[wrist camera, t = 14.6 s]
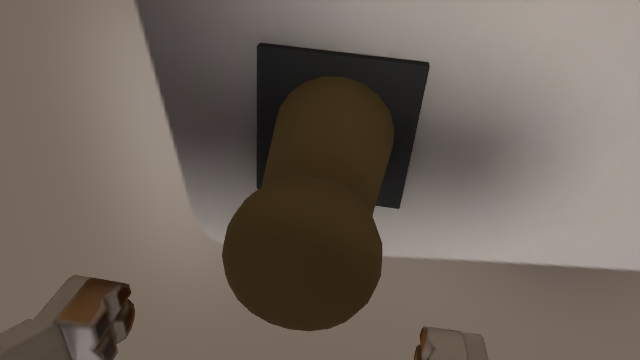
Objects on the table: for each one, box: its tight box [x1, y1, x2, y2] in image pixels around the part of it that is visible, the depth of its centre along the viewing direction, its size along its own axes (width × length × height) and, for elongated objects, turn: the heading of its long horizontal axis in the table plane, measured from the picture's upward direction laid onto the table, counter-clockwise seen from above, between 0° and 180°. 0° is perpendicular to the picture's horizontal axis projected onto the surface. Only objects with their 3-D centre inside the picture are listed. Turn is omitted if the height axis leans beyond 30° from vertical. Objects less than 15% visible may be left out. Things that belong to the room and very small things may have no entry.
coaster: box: [257, 43, 430, 209], centre depth 23 cm, size 8×8×1 cm
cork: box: [222, 76, 394, 331], centre depth 18 cm, size 6×6×11 cm
